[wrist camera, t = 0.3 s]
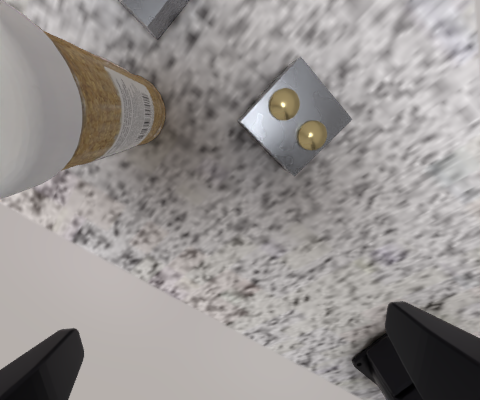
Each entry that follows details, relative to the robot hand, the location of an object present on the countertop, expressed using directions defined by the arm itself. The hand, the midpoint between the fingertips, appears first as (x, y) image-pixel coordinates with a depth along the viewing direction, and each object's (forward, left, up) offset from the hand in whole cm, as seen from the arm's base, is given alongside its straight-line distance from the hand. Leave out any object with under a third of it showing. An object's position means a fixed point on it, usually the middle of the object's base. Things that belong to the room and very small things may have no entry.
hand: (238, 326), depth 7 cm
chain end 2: (+1, -7, -13) cm, 15 cm away
